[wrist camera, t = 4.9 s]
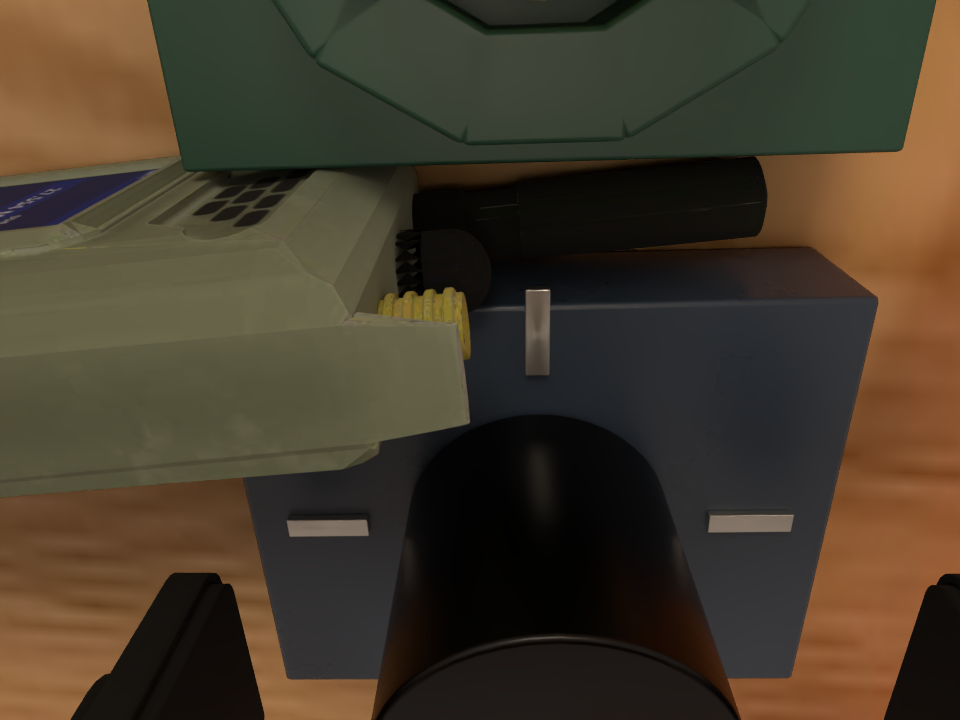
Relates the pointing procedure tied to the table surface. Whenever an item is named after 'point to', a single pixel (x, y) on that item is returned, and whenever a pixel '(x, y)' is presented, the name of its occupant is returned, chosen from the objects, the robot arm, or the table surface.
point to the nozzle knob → (546, 587)
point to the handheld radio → (280, 306)
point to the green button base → (534, 79)
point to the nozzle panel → (630, 415)
